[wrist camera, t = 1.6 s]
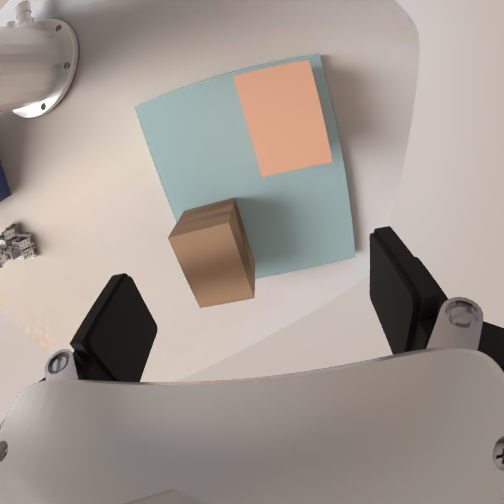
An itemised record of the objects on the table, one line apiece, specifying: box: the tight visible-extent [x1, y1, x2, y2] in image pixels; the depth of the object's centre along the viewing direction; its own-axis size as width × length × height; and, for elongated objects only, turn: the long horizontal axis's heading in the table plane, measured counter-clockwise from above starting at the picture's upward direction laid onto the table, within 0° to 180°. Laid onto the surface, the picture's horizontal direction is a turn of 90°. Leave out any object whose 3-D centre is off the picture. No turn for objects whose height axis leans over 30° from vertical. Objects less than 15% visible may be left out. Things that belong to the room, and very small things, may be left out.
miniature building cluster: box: [0, 224, 38, 268], centre depth 29 cm, size 9×9×8 cm
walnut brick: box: [168, 197, 255, 308], centre depth 29 cm, size 8×6×6 cm
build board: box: [135, 54, 356, 279], centre depth 28 cm, size 22×18×1 cm
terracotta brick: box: [233, 60, 332, 177], centre depth 22 cm, size 8×6×6 cm
